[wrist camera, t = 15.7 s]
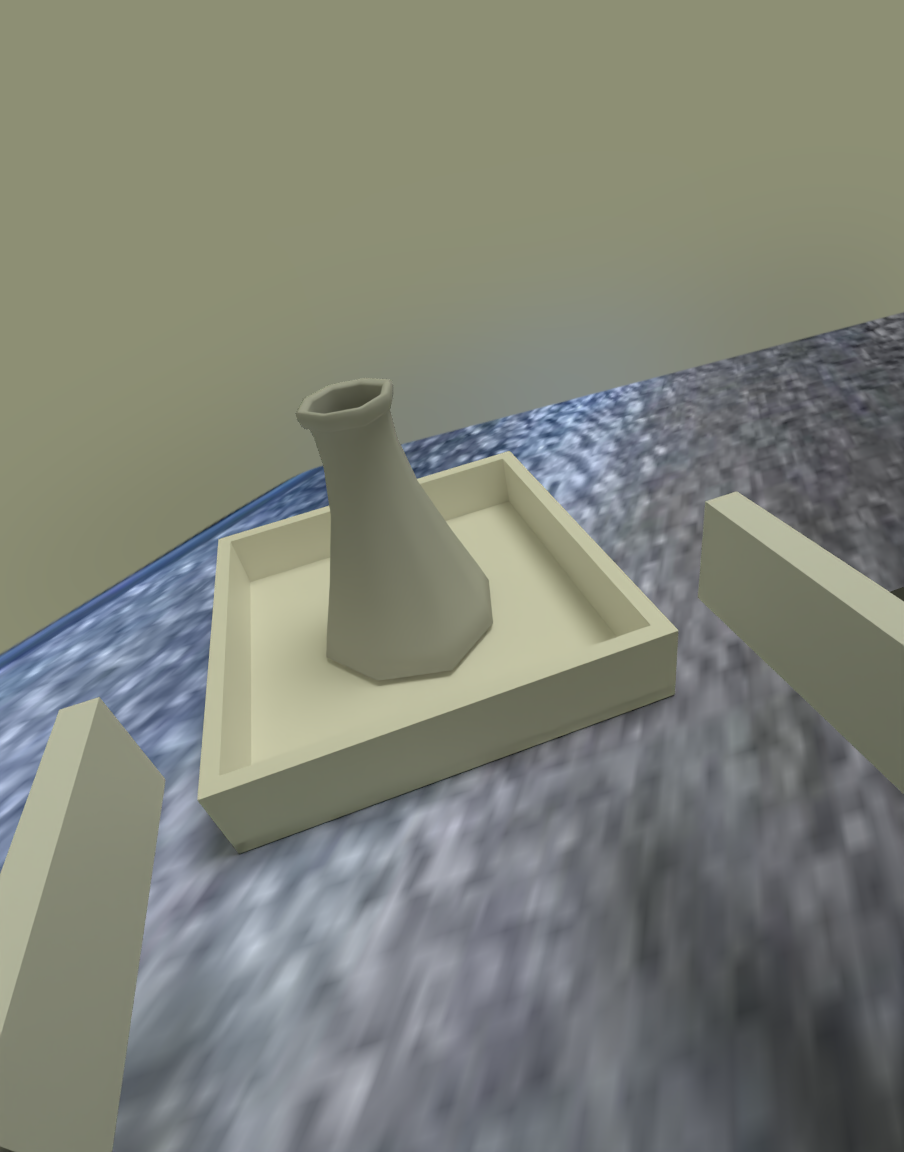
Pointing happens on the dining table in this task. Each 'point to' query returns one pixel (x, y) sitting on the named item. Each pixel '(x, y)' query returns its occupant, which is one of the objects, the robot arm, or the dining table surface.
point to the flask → (388, 545)
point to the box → (422, 702)
